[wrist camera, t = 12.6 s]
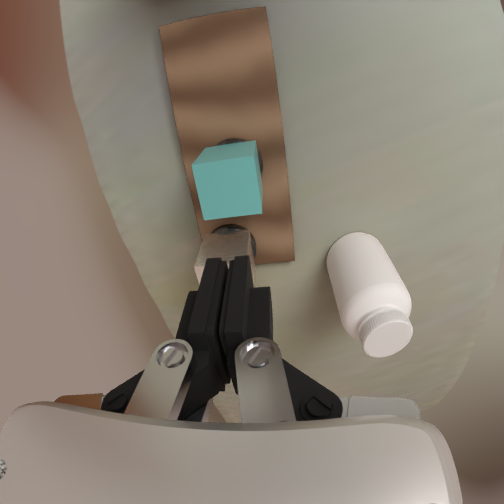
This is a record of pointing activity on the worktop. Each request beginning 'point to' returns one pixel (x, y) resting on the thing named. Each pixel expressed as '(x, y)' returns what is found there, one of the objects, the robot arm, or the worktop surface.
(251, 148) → the matte teal square block
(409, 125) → the worktop surface
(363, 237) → the pill bottle
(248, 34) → the board
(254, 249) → the pale wooden cube
